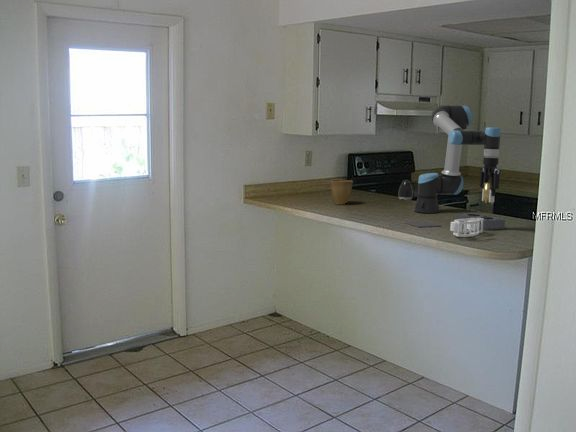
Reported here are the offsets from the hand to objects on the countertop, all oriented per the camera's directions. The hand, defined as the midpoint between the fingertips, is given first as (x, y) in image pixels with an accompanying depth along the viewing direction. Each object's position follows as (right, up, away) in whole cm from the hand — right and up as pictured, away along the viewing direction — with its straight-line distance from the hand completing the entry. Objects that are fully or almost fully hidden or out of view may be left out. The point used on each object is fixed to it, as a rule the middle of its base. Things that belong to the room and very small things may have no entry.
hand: (488, 201), depth 316 cm
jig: (-2, -13, +7) cm, 15 cm away
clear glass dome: (-23, +2, +105) cm, 107 cm away
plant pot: (-70, 0, +83) cm, 108 cm away
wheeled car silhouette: (-16, -17, -17) cm, 29 cm away
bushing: (0, -1, 0) cm, 1 cm away
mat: (-33, -12, +7) cm, 36 cm away
